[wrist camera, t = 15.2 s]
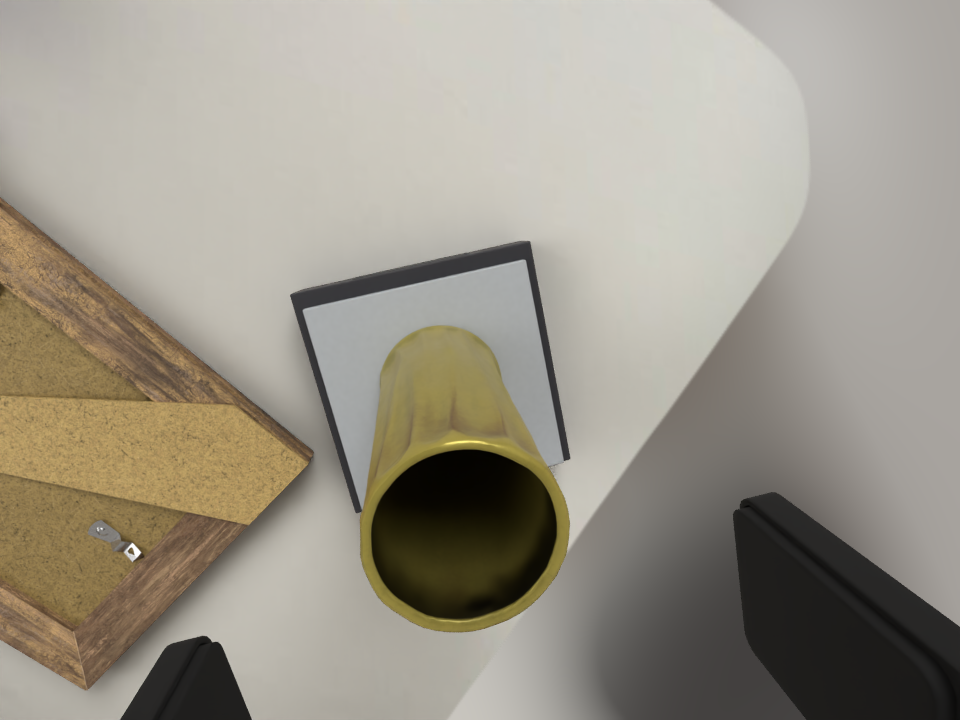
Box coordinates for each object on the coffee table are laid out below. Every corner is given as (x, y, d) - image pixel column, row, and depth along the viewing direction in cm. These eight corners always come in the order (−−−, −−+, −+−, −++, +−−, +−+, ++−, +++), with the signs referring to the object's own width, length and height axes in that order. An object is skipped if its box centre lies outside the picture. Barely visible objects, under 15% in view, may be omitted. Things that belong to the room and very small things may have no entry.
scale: (520, 240, 29) (532, 239, 26) (558, 442, 31) (573, 464, 28) (300, 288, 28) (286, 294, 25) (360, 492, 31) (354, 519, 28)
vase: (402, 457, 27) (387, 681, 13) (362, 346, 26) (296, 469, 12) (515, 419, 27) (614, 602, 14) (481, 308, 26) (553, 385, 12)
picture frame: (315, 450, 30) (-85, 125, 24) (308, 463, 28) (-125, 116, 22) (102, 669, 31) (-323, 409, 26) (83, 695, 29) (-377, 421, 24)
